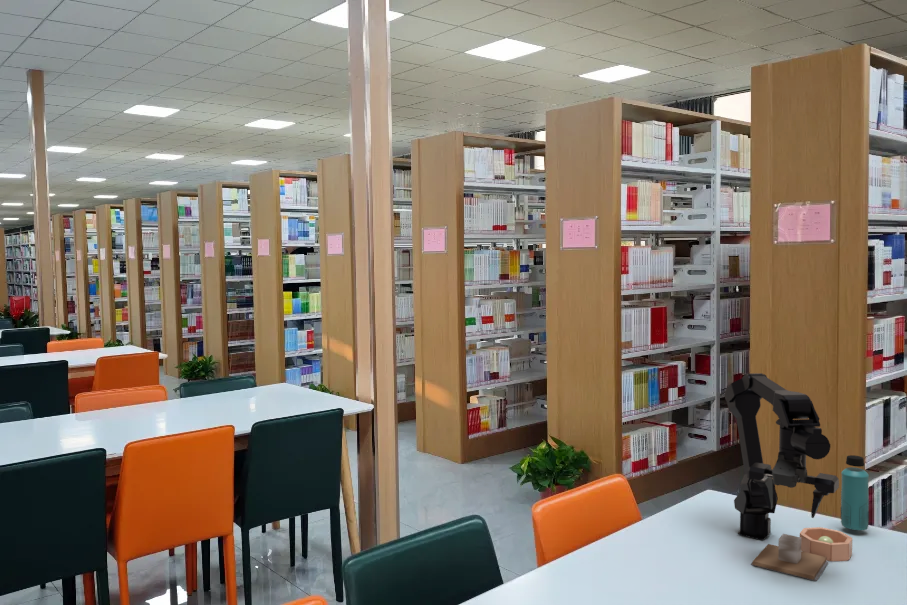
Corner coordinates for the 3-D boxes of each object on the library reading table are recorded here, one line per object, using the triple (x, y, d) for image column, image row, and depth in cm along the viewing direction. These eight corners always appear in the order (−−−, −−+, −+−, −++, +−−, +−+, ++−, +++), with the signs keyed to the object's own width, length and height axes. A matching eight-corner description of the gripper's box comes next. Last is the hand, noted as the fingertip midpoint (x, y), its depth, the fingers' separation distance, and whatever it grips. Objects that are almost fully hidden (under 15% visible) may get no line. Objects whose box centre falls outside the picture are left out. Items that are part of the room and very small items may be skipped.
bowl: (796, 553, 172) (796, 537, 172) (806, 539, 180) (806, 524, 180) (846, 564, 165) (846, 548, 165) (854, 550, 173) (855, 534, 173)
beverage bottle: (872, 537, 182) (874, 460, 181) (844, 535, 183) (846, 459, 182) (863, 527, 188) (864, 453, 187) (836, 526, 189) (837, 452, 188)
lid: (752, 564, 165) (752, 540, 164) (768, 547, 175) (768, 524, 175) (813, 579, 157) (814, 554, 156) (826, 560, 167) (826, 536, 166)
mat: (750, 564, 165) (750, 563, 165) (765, 548, 175) (765, 547, 175) (816, 581, 157) (816, 579, 157) (828, 563, 166) (828, 561, 166)
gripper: (740, 448, 165) (739, 514, 166) (829, 462, 153) (827, 532, 154) (755, 439, 173) (754, 501, 174) (840, 451, 161) (838, 518, 162)
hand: (791, 513), depth 166 cm, fingers open, 9 cm apart
